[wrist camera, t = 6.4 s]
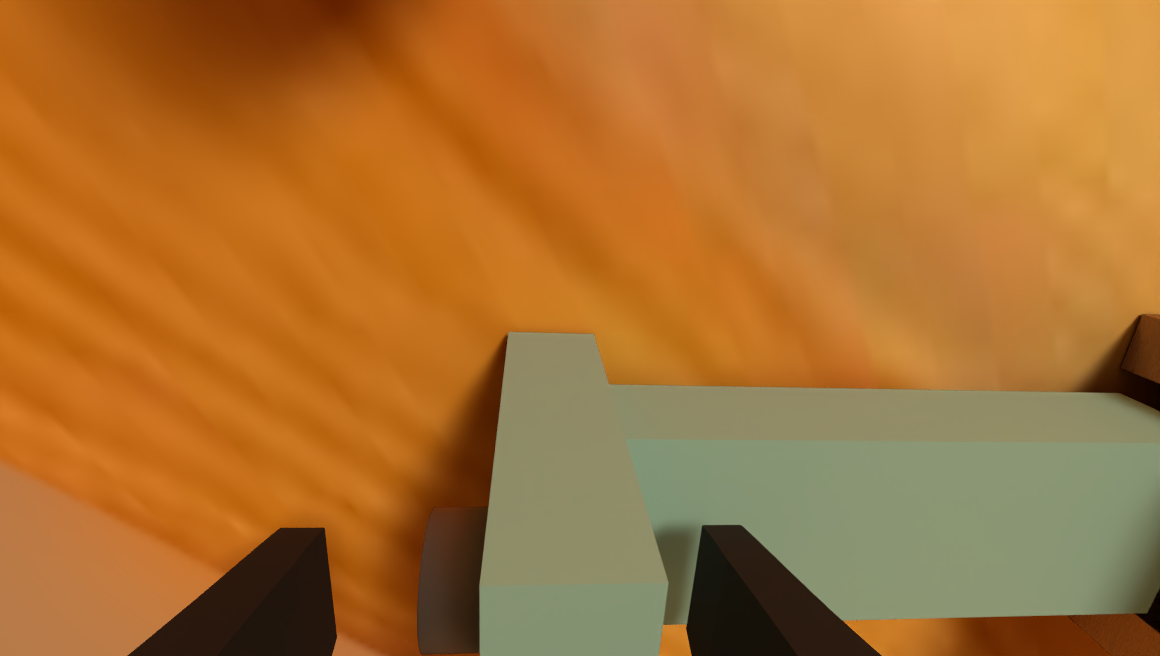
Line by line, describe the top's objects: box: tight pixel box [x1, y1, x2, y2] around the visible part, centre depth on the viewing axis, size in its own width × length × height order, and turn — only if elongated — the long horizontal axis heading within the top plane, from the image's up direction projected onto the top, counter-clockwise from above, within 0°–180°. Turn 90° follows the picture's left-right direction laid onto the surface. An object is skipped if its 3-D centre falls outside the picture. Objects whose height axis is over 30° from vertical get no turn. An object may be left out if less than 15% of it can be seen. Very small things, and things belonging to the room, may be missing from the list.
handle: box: [417, 332, 1160, 656], centre depth 9 cm, size 14×6×6 cm, turn 87°
